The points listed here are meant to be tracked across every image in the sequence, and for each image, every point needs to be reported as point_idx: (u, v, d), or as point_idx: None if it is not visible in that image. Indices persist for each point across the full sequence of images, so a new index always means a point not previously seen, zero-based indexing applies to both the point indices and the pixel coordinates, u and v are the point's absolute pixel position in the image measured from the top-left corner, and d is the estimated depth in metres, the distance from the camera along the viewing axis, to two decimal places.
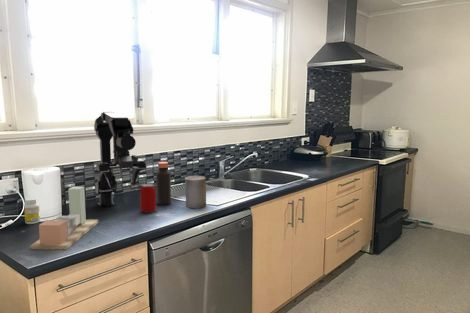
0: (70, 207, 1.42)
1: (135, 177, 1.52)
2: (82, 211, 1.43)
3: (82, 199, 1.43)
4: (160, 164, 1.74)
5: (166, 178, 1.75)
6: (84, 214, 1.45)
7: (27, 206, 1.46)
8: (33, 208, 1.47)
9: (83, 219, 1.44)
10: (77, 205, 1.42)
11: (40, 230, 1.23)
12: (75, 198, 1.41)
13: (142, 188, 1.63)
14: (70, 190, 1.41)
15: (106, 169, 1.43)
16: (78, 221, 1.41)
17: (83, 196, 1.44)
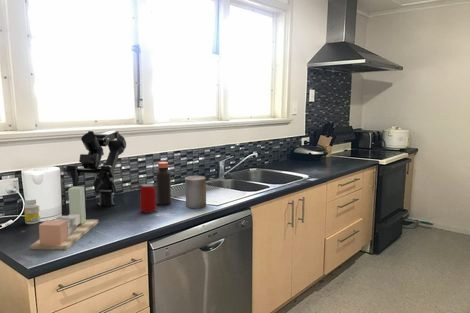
0: (70, 207, 1.42)
1: (98, 180, 1.51)
2: (82, 211, 1.43)
3: (82, 199, 1.43)
4: (160, 164, 1.74)
5: (166, 178, 1.75)
6: (84, 214, 1.45)
7: (27, 206, 1.46)
8: (33, 208, 1.47)
9: (83, 219, 1.44)
10: (77, 205, 1.42)
11: (40, 230, 1.23)
12: (75, 198, 1.41)
13: (142, 188, 1.63)
14: (70, 190, 1.41)
15: (71, 168, 1.53)
16: (78, 221, 1.41)
17: (83, 196, 1.44)
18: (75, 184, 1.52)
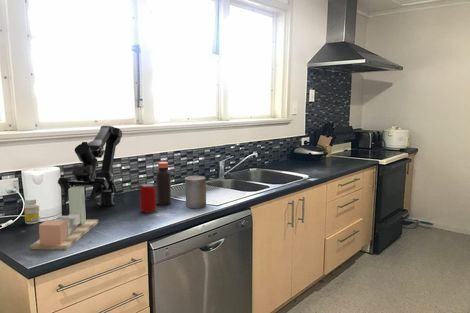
0: (70, 207, 1.42)
1: (92, 193, 1.45)
2: (82, 211, 1.43)
3: (82, 199, 1.43)
4: (160, 164, 1.74)
5: (166, 178, 1.75)
6: (84, 214, 1.45)
7: (27, 206, 1.46)
8: (33, 208, 1.47)
9: (83, 219, 1.44)
10: (77, 205, 1.42)
11: (40, 230, 1.23)
12: (75, 198, 1.41)
13: (142, 188, 1.63)
14: (70, 190, 1.41)
15: (63, 180, 1.47)
16: (78, 221, 1.41)
17: (83, 196, 1.44)
18: (67, 197, 1.46)
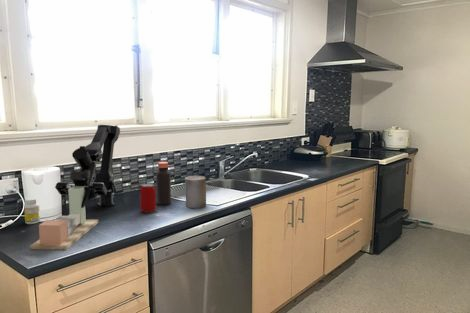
0: (70, 207, 1.42)
1: (84, 198, 1.43)
2: (82, 211, 1.43)
3: (82, 199, 1.43)
4: (160, 164, 1.74)
5: (166, 178, 1.75)
6: (84, 214, 1.45)
7: (27, 206, 1.46)
8: (33, 208, 1.47)
9: (83, 219, 1.44)
10: (77, 205, 1.42)
11: (40, 230, 1.23)
12: (75, 198, 1.41)
13: (142, 188, 1.63)
14: (70, 190, 1.41)
15: (61, 185, 1.45)
16: (78, 221, 1.41)
17: (83, 196, 1.44)
18: None
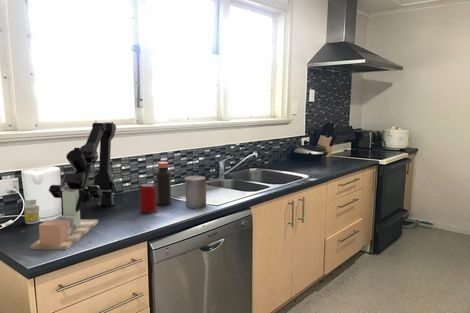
0: (64, 211, 1.37)
1: (79, 202, 1.38)
2: (76, 215, 1.38)
3: (76, 203, 1.38)
4: (160, 164, 1.74)
5: (166, 178, 1.75)
6: (79, 218, 1.40)
7: (27, 206, 1.46)
8: (33, 208, 1.47)
9: (78, 223, 1.39)
10: (71, 208, 1.37)
11: (40, 230, 1.23)
12: (69, 201, 1.36)
13: (142, 188, 1.63)
14: (64, 193, 1.36)
15: (55, 188, 1.40)
16: None
17: (77, 199, 1.39)
18: None
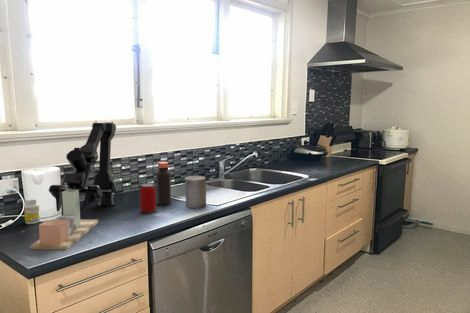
0: (64, 211, 1.37)
1: (84, 202, 1.38)
2: (76, 215, 1.38)
3: (76, 203, 1.38)
4: (160, 164, 1.74)
5: (166, 178, 1.75)
6: (79, 218, 1.40)
7: (27, 206, 1.46)
8: (33, 208, 1.47)
9: (77, 223, 1.39)
10: (71, 208, 1.37)
11: (40, 230, 1.23)
12: (69, 201, 1.36)
13: (142, 188, 1.63)
14: (64, 193, 1.36)
15: (55, 188, 1.40)
16: None
17: (77, 199, 1.39)
18: (59, 206, 1.39)
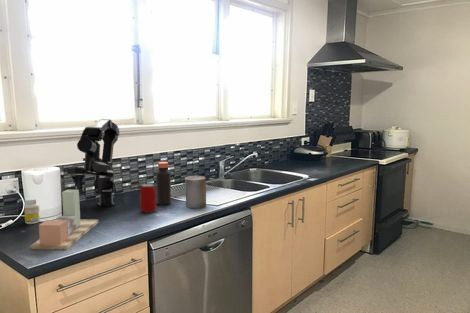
0: (64, 211, 1.37)
1: (103, 186, 1.56)
2: (76, 215, 1.38)
3: (76, 203, 1.38)
4: (160, 164, 1.74)
5: (166, 178, 1.75)
6: (79, 218, 1.40)
7: (27, 206, 1.46)
8: (33, 208, 1.47)
9: (77, 223, 1.39)
10: (71, 208, 1.37)
11: (40, 230, 1.23)
12: (69, 201, 1.36)
13: (142, 188, 1.63)
14: (64, 193, 1.36)
15: (81, 172, 1.46)
16: None
17: (77, 199, 1.39)
18: None
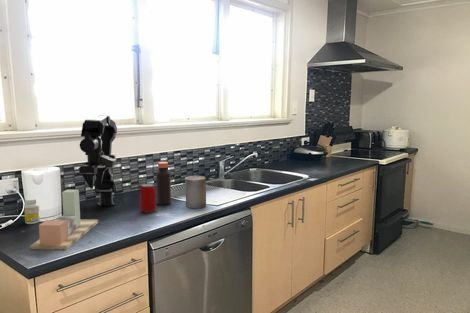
0: (64, 211, 1.37)
1: (102, 176, 1.62)
2: (76, 215, 1.38)
3: (76, 203, 1.38)
4: (160, 164, 1.74)
5: (166, 178, 1.75)
6: (79, 218, 1.40)
7: (27, 206, 1.46)
8: (33, 208, 1.47)
9: (77, 223, 1.39)
10: (71, 208, 1.37)
11: (40, 230, 1.23)
12: (69, 201, 1.36)
13: (142, 188, 1.63)
14: (64, 193, 1.36)
15: (96, 170, 1.49)
16: None
17: (77, 199, 1.39)
18: None
